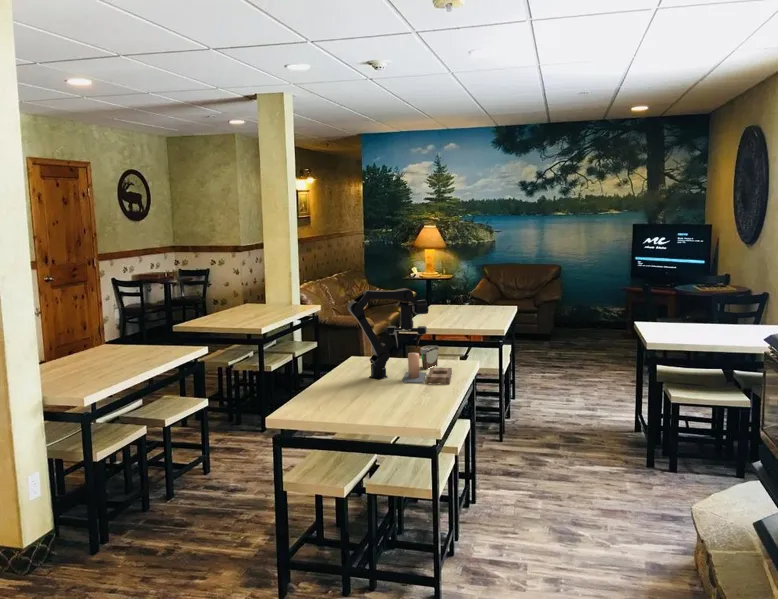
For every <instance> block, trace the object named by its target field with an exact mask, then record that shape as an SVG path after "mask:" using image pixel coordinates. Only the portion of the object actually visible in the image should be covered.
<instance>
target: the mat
mask: <svg viewBox="0 0 778 599" xmlns="http://www.w3.org/2000/svg"><path fill="white" fill-rule="evenodd" d="M419 373H420V377H419V378H409V377H408V371H405V373H404V376H402V379H401V382H407V383H406V384H424V382H425V380H426V377H425V376H427V374H426V373H427V372H425V371H421V372H420V371H419ZM424 379H425V380H424Z"/></svg>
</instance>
